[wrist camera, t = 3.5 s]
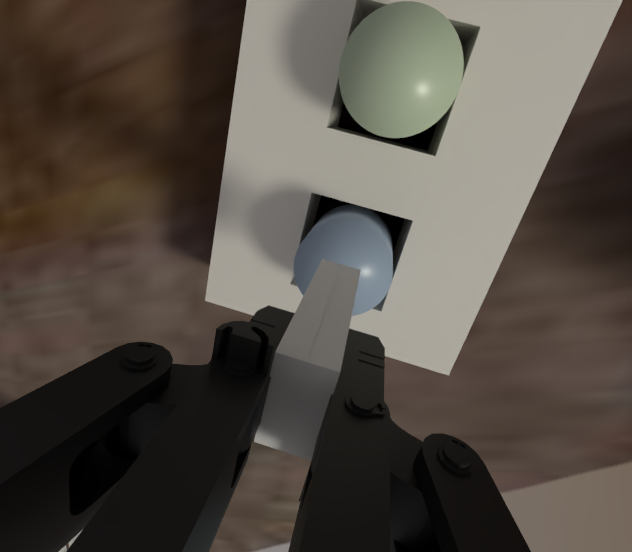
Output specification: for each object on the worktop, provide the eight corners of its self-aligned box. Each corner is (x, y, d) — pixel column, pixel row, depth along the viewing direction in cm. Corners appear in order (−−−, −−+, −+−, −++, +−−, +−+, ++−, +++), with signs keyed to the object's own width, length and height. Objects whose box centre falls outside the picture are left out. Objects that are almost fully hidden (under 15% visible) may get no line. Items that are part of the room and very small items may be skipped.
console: (328, -309, 15) (308, -445, 12) (691, -245, 14) (794, -371, 11) (231, 275, 26) (205, 300, 22) (440, 337, 25) (448, 375, 21)
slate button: (321, 194, 20) (305, 210, 16) (403, 218, 20) (406, 239, 16) (302, 271, 22) (284, 300, 18) (378, 293, 22) (375, 327, 18)
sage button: (364, 17, 17) (357, -13, 13) (463, 40, 17) (484, 17, 13) (339, 122, 19) (326, 121, 15) (428, 145, 18) (437, 151, 15)
